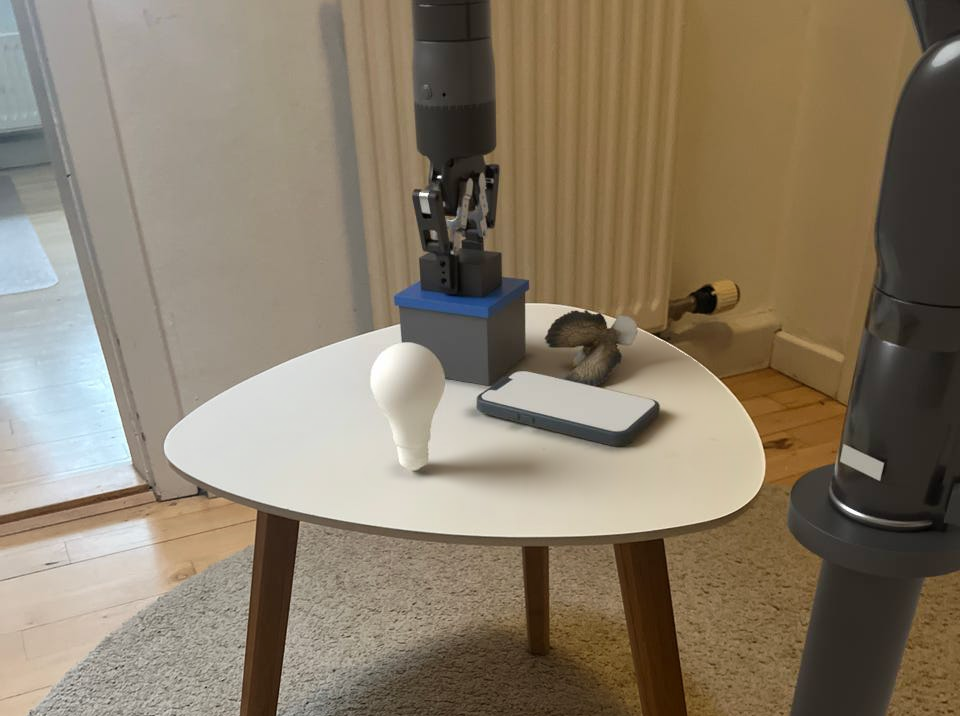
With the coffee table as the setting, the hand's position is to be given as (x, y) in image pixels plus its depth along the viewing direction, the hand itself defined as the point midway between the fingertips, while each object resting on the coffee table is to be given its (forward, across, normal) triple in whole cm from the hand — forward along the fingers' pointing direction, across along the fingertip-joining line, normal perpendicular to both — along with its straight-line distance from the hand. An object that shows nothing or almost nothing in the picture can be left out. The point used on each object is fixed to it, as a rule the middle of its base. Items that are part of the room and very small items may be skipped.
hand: (461, 284), depth 100 cm
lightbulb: (+9, -24, -7) cm, 26 cm away
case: (0, 0, 0) cm, 0 cm away
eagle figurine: (+8, +3, -13) cm, 16 cm away
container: (+8, 0, 0) cm, 8 cm away
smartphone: (+8, -8, -15) cm, 19 cm away
